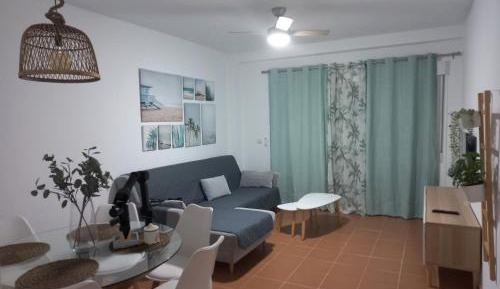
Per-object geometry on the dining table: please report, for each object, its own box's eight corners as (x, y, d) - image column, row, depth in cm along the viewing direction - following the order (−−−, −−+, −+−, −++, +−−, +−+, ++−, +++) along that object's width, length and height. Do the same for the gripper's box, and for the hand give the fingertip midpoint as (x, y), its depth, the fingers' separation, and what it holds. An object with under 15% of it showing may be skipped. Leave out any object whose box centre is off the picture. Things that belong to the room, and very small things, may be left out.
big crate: (114, 241, 206) (113, 235, 206) (138, 237, 211) (137, 231, 211) (113, 250, 193) (113, 244, 193) (139, 245, 198) (138, 239, 198)
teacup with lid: (158, 244, 198) (157, 225, 197) (143, 246, 197) (141, 227, 196) (161, 237, 210) (160, 219, 209) (146, 238, 209) (145, 220, 208)
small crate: (120, 238, 204) (119, 229, 203) (131, 237, 206) (130, 227, 205) (120, 242, 198) (119, 232, 197) (131, 240, 200) (130, 231, 199)
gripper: (109, 209, 206) (112, 234, 208) (108, 219, 188) (110, 245, 190) (129, 207, 210) (131, 231, 211) (129, 216, 192) (131, 242, 194)
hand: (125, 237), depth 202 cm, fingers closed on small crate, 6 cm apart
